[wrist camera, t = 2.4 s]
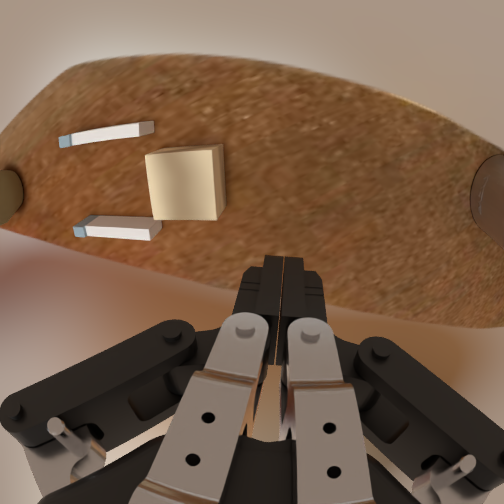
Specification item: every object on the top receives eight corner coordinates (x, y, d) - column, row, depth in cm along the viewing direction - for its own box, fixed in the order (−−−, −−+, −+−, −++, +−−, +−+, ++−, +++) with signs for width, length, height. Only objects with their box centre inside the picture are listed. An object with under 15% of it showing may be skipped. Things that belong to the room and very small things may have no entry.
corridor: (153, 120, 24) (136, 123, 21) (162, 228, 29) (148, 242, 26) (78, 131, 25) (58, 137, 22) (91, 224, 31) (75, 236, 28)
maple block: (223, 143, 25) (211, 149, 21) (227, 204, 27) (216, 220, 24) (163, 147, 25) (144, 155, 22) (170, 205, 28) (153, 219, 25)
